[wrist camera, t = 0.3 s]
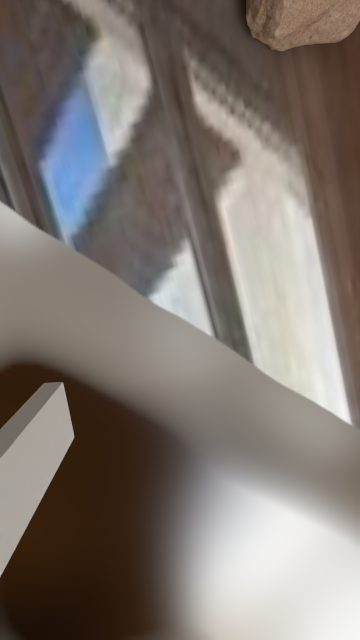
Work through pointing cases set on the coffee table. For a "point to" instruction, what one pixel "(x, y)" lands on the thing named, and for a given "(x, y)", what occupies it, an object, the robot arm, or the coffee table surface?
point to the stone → (301, 21)
